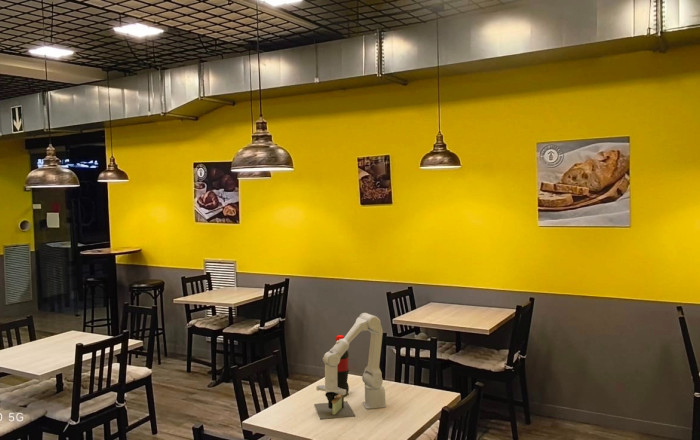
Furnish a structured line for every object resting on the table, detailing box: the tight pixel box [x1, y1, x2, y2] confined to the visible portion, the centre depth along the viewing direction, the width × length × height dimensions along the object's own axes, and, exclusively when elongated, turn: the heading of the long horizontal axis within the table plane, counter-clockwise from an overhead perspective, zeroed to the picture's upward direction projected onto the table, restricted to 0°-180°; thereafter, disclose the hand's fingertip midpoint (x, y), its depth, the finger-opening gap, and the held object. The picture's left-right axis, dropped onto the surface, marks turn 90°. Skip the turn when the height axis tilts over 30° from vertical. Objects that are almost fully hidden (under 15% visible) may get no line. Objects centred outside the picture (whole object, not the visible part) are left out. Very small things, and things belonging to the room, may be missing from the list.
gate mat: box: [313, 395, 356, 420], centre depth 255 cm, size 16×18×8 cm
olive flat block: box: [332, 394, 343, 415], centre depth 253 cm, size 10×2×6 cm, turn 161°
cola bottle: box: [335, 334, 350, 397], centre depth 276 cm, size 8×8×30 cm
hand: (331, 407), depth 251 cm, fingers closed
